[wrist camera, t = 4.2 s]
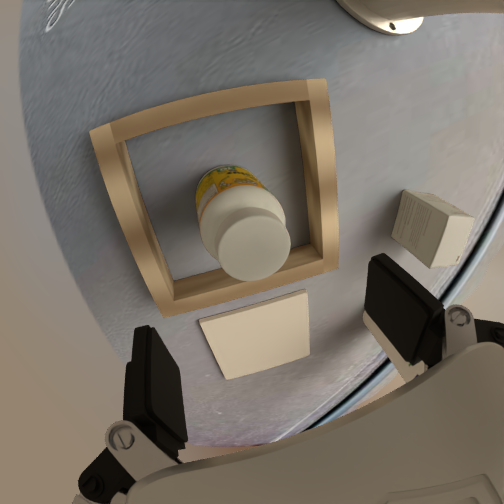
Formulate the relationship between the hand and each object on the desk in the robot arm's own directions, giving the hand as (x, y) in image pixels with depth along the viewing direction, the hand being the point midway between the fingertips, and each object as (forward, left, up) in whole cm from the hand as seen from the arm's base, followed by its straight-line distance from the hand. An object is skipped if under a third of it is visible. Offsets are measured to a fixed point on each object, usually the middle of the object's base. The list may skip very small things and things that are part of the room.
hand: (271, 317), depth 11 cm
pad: (+18, 0, -14) cm, 23 cm away
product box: (+6, +21, -14) cm, 27 cm away
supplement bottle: (-1, 0, -14) cm, 14 cm away
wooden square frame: (-1, 0, -14) cm, 14 cm away
